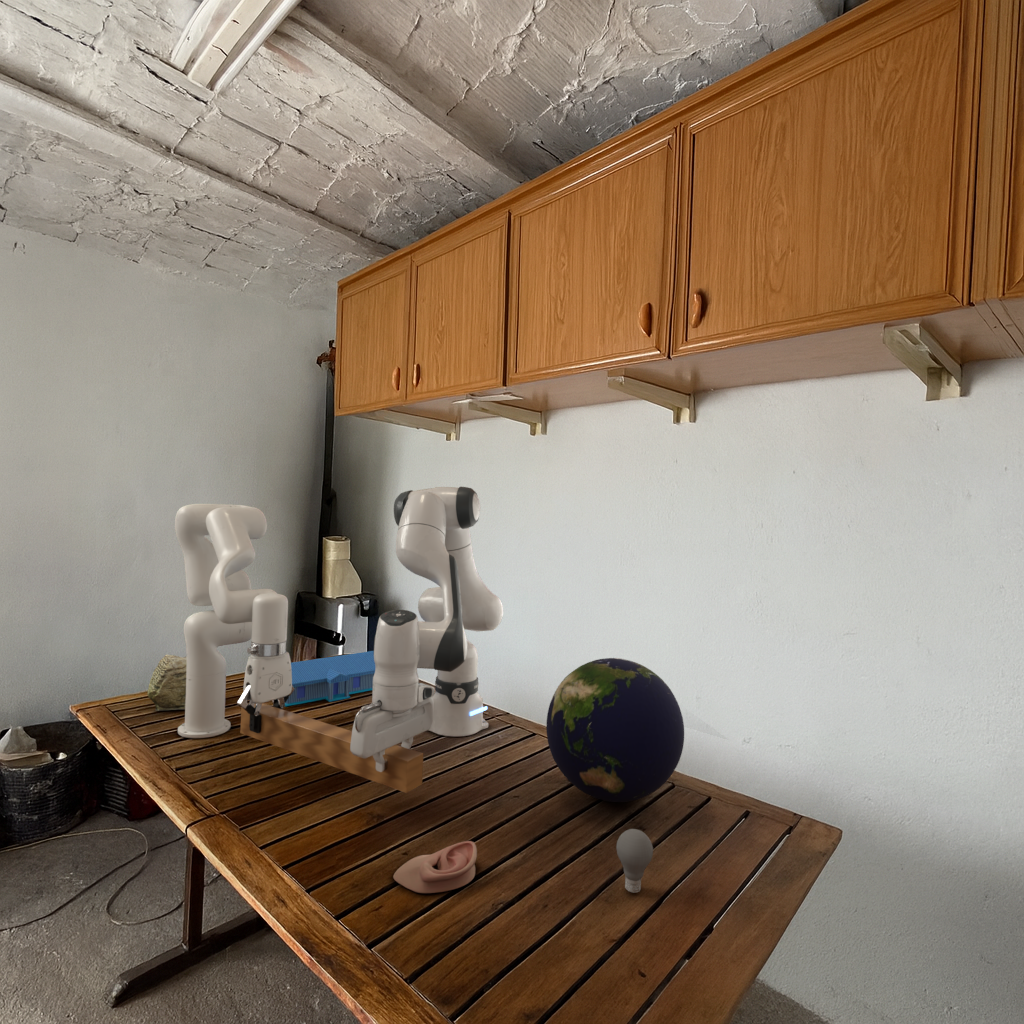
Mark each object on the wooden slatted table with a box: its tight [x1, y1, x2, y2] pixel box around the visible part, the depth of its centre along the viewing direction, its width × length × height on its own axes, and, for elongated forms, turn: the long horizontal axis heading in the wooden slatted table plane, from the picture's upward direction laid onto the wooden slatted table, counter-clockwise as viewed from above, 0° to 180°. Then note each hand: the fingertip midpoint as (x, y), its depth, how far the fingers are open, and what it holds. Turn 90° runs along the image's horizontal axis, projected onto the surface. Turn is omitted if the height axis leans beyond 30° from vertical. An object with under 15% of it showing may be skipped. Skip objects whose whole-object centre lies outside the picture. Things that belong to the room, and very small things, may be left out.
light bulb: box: [615, 828, 654, 894], centre depth 106 cm, size 6×6×10 cm
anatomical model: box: [392, 840, 478, 894], centre depth 108 cm, size 13×4×12 cm
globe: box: [545, 657, 685, 803], centre depth 140 cm, size 30×30×30 cm
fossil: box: [147, 654, 187, 712], centre depth 185 cm, size 9×18×15 cm, turn 132°
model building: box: [284, 650, 375, 708], centre depth 208 cm, size 39×24×10 cm, turn 132°
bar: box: [239, 703, 424, 794], centre depth 134 cm, size 50×5×6 cm, turn 58°
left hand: (265, 727), depth 144 cm, fingers closed on bar, 4 cm apart
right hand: (392, 764), depth 124 cm, fingers closed on bar, 5 cm apart
